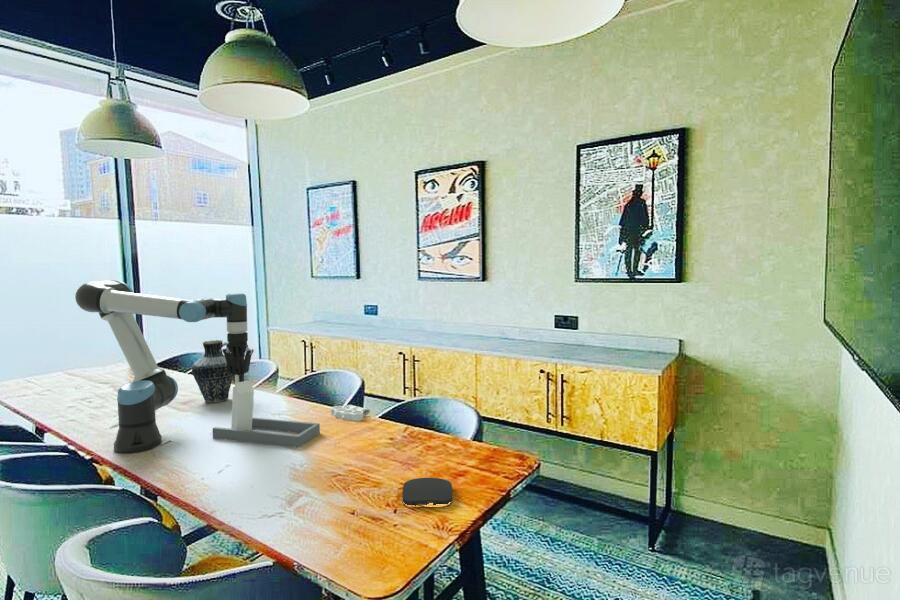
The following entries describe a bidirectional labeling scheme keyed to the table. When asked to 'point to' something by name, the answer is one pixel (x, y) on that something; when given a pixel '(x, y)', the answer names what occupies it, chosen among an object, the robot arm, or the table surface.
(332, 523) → the table surface
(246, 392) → the milk
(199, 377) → the jug
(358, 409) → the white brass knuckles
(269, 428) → the tray
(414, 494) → the media streaming box
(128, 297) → the robot arm
